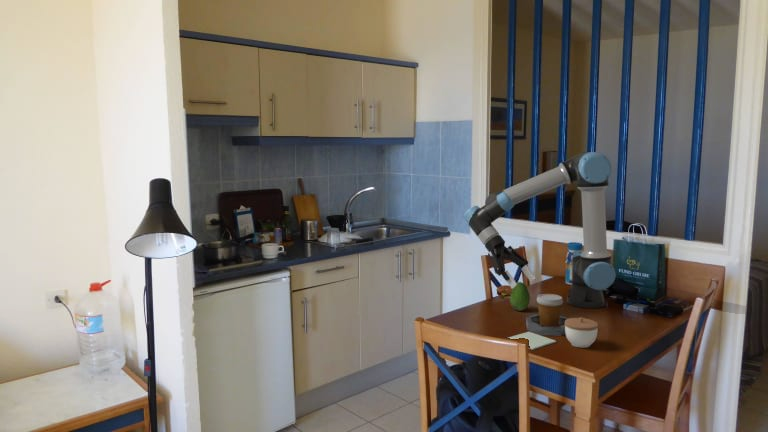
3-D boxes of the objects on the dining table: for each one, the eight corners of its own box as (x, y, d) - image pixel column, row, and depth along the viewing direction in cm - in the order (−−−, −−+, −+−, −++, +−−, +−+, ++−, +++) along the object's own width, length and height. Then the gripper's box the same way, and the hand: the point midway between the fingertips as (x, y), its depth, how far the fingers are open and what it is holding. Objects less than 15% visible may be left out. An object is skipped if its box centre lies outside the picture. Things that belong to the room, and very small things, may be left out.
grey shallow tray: (545, 319, 216) (545, 311, 216) (581, 329, 203) (581, 321, 203) (517, 326, 207) (517, 319, 207) (552, 338, 194) (552, 330, 194)
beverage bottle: (570, 280, 278) (572, 241, 276) (586, 283, 272) (587, 243, 269) (561, 283, 273) (562, 243, 270) (577, 286, 266) (578, 245, 264)
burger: (515, 293, 255) (515, 283, 254) (520, 299, 245) (520, 289, 245) (494, 294, 255) (494, 284, 254) (498, 299, 245) (498, 289, 245)
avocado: (520, 314, 223) (521, 285, 221) (506, 309, 229) (506, 281, 228) (533, 310, 228) (534, 282, 226) (518, 306, 234) (519, 278, 232)
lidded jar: (589, 338, 194) (590, 312, 193) (602, 349, 183) (603, 322, 182) (559, 339, 193) (560, 313, 192) (570, 350, 183) (571, 323, 182)
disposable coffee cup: (563, 333, 200) (564, 300, 198) (536, 331, 202) (537, 299, 200) (561, 325, 209) (561, 294, 208) (534, 323, 211) (535, 293, 209)
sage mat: (528, 332, 200) (528, 331, 200) (556, 342, 191) (556, 340, 191) (505, 339, 194) (505, 338, 194) (532, 349, 184) (532, 348, 184)
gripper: (503, 242, 230) (535, 283, 222) (467, 250, 213) (500, 295, 204) (515, 230, 226) (547, 272, 217) (479, 238, 209) (512, 283, 200)
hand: (524, 283), depth 211 cm, fingers open, 13 cm apart
